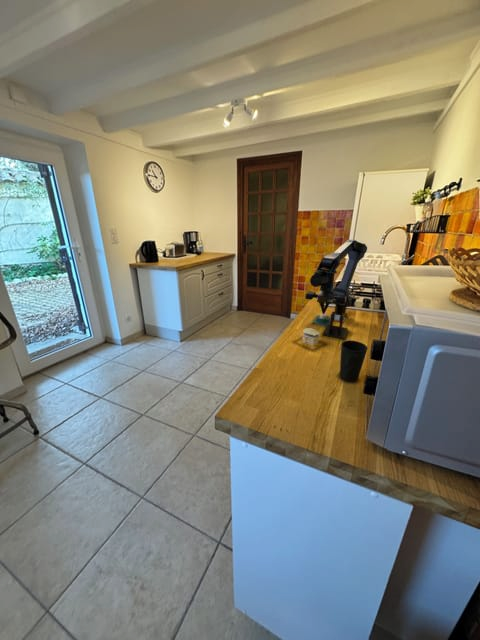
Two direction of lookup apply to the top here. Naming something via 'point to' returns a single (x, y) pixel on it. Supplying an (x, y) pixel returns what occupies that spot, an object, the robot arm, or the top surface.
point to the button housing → (322, 321)
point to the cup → (351, 360)
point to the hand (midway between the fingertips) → (323, 313)
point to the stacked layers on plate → (310, 336)
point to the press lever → (337, 317)
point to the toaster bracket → (335, 328)
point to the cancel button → (323, 316)
